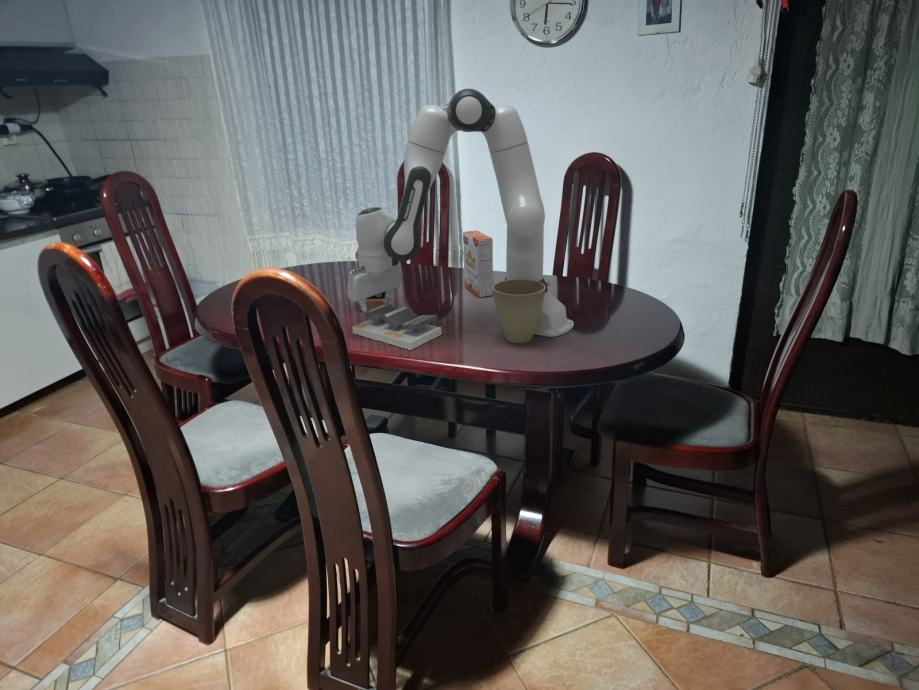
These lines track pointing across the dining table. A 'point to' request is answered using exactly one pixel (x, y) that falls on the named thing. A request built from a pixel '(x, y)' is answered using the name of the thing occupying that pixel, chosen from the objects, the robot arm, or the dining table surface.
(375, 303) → the whiskey bottle
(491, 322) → the dining table surface
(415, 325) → the panel
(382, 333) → the switch panel
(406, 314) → the rocker middle
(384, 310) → the rocker outer
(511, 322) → the plant pot
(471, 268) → the cracker box
